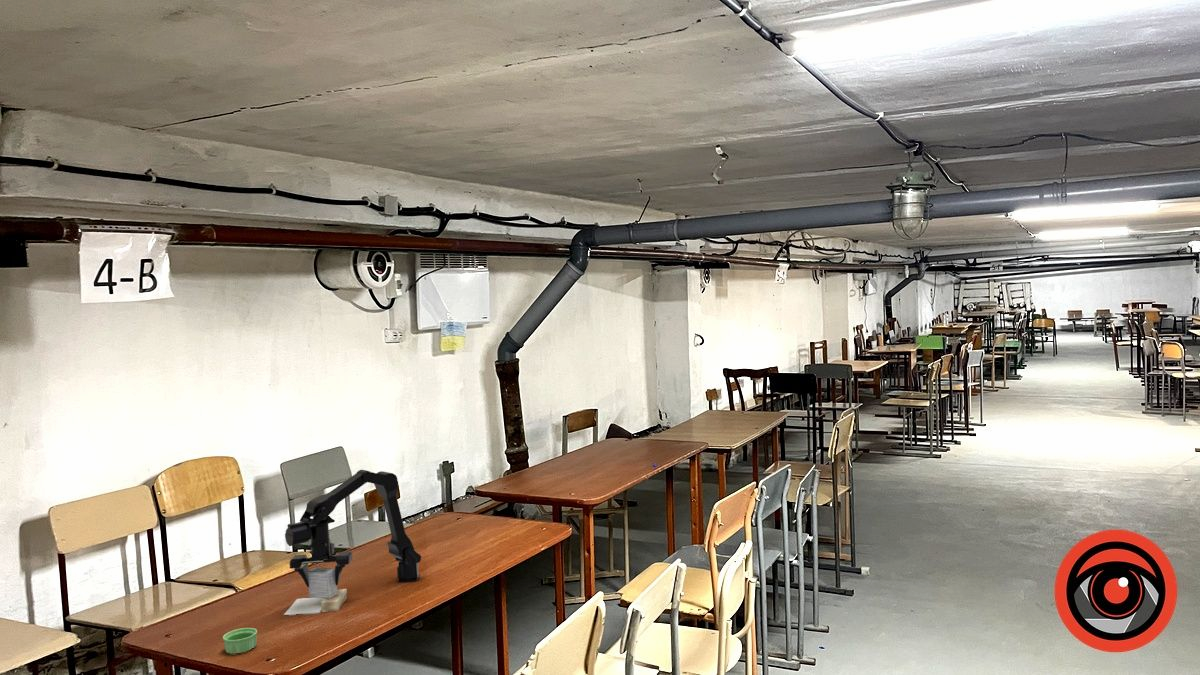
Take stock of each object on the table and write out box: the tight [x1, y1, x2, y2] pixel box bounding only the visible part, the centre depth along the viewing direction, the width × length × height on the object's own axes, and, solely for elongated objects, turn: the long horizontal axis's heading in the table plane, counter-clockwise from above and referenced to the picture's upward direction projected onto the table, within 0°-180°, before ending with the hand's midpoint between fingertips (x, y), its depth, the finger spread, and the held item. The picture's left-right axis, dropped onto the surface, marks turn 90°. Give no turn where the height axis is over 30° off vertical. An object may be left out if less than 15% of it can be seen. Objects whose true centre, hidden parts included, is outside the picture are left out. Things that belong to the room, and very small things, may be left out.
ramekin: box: [222, 627, 258, 655], centre depth 229 cm, size 9×9×4 cm
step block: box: [321, 588, 348, 613], centre depth 261 cm, size 5×12×3 cm, turn 4°
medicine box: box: [308, 566, 338, 599], centre depth 261 cm, size 8×4×9 cm, turn 71°
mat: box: [283, 597, 325, 616], centre depth 261 cm, size 11×14×1 cm
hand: (323, 585), depth 261 cm, fingers closed on medicine box, 9 cm apart
